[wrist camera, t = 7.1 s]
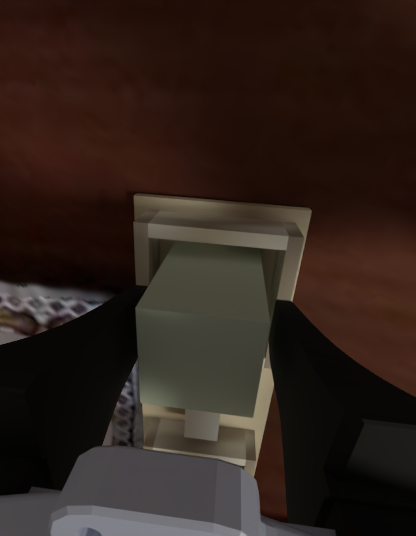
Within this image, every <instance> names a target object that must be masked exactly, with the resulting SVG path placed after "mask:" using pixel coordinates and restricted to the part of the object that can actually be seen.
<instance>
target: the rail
mask: <svg viewBox="0 0 416 536" xmlns="http://www.w3.org/2000/svg"><path fill="white" fill-rule="evenodd" d="M311 213H312V210H311V209H310V208H303V207H292V206H280V205H268V204H257V203H245V202H234V201H222V200H210V199H199V198H187V197H176V196H164V195H152V194H141V193H137V194H135V195H134V216H135V221H134V222H133V227H134V250H135V272H136V285H143V286H149V284H150V283H151V281H152V279H153V278H154V276H155V274H156V273H157V271H158V269H159V268H160V266H161V265H162V263H163V261H164V260H165V258H166V256H167V255H168V253H169V251H170V250H171V248H172V246H173V245H174V243H175V241H186V242H197V243H208V244H218V245H229V246H240V247H251V248H260V253H261V260H262V268H263V275H264V282H265V289H266V297H267V304H268V311H269V318H270V326H269V332H268V337H267V343H266V349H265V354H264V360H263V365H262V371H261V377H260V382H259V388H258V394H257V399H256V405H255V410H254V416H253V418H249V417H241V416H234V415H226V414H219V413H211V412H204V411H196V410H189V409H181V408H174V407H166V406H159V405H151V404H144V403H142V408H143V432H144V445H143V449H149V450H157V451H164V452H172V453H179V454H187V455H194V456H202V457H209V458H217V459H220V460H224V461H227V462H230V463H233V464H237V465H239V466H240V467H241V468H242V469H244V470H245V471H246V472H247V473H248V474H249V475H251V476H252V477H253V478H254V474H255V469H256V465H257V460H258V456H259V451H260V446H261V442H262V437H263V433H264V428H265V424H266V419H267V414H268V410H269V405H270V401H271V396H272V392H273V387H274V381H273V376H272V371H271V365H270V359H269V341H268V338H269V333H270V328H271V323H272V317H273V312H274V307H275V302H276V299H278V300H288V301H292V300H293V296H294V291H295V286H296V282H297V277H298V273H299V268H300V264H301V259H302V254H303V250H304V245H305V241H306V236H307V232H308V227H309V222H310V218H311Z"/></svg>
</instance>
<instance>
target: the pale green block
mask: <svg viewBox="0 0 416 536" xmlns="http://www.w3.org/2000/svg"><path fill="white" fill-rule="evenodd" d="M135 310H136V329H137V349H138V368H139V387H140V403H144V404H151V405H159V406H166V407H174V408H181V409H189V410H196V411H204V412H211V413H219V414H226V415H234V416H241V417H249V418H253V416H254V410H255V405H256V399H257V394H258V388H259V382H260V377H261V371H262V365H263V360H264V354H265V349H266V343H267V337H268V332H269V326H270V318H269V311H268V304H267V297H266V289H265V282H264V275H263V268H262V260H261V253H260V248H251V247H240V246H229V245H218V244H208V243H197V242H186V241H175V243H174V245H173V246H172V248H171V250H170V251H169V253H168V255H167V256H166V258H165V260H164V261H163V263H162V265H161V266H160V268H159V269H158V271H157V273H156V274H155V276H154V278H153V279H152V281H151V283H150V284H149V286H148V288H147V289H146V291H145V293H144V294H143V296H142V298H141V299H140V301H139V303H138V304H137V306H136V308H135Z"/></svg>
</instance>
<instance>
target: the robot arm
mask: <svg viewBox="0 0 416 536" xmlns="http://www.w3.org/2000/svg"><path fill="white" fill-rule="evenodd" d="M147 288H148V286H143V285H133V286H131V287H129V288H128V289H126V290H125V291H123V292H121V293H120V294H118V295H117V296H115V297H113V298H112V299H110V300H109V301H107V302H105V303H104V304H102V305H100V306H98V307H97V308H95V309H93V310H91V311H89V312H88V313H86V314H84V315H82V316H80V317H78V318H76V319H74V320H72V321H69V322H67V323H65V324H63V325H60V326H58V327H55V328H53V329H50V330H47V331H44V332H42V333H39V334H36V335H33V336H30V337H27V338H24V339H20V340H17V341H13V342H10V343H6V344H2V345H0V536H416V397H414V396H412V395H410V394H408V393H407V392H405V391H403V390H401V389H399V388H397V387H395V386H394V385H392V384H390V383H388V382H387V381H385V380H383V379H382V378H380V377H378V376H377V375H375V374H374V373H372V372H371V371H369V370H368V369H366V368H364V367H363V366H362V365H360V364H359V363H357V362H356V361H354V360H353V359H352V358H351V357H349V356H348V355H347V354H345V353H344V352H343V351H341V350H340V349H339V348H338V347H337V346H335V345H334V344H333V343H332V342H331V341H330V340H329V339H328V338H326V337H325V336H324V335H323V334H322V333H321V332H320V331H319V330H318V329H317V328H316V327H315V326H314V325H313V324H312V323H311V322H310V321H309V320H308V319H307V318H306V317H305V315H304V314H303V313H302V312H301V311H300V310H299V309H298V308H297V307H296V306H295V304H294V303H293V302H292V301H288V300H278V299H276V302H275V307H274V312H273V317H272V323H271V328H270V333H269V338H268V341H269V359H270V365H271V371H272V376H273V381H274V386H275V391H276V397H277V402H278V407H279V413H280V420H281V431H282V442H283V455H284V469H285V485H286V502H287V523H283V522H279V521H276V520H273V519H271V518H268V517H265V516H262V515H260V503H259V492H258V487H257V483H256V480H255V479H254V478H253V477H252V476H251V475H249V474H248V473H247V472H246V471H245V470H244V469H242V468H241V467H240V466H239V465H237V464H233V463H230V462H227V461H224V460H220V459H217V458H209V457H202V456H194V455H187V454H179V453H172V452H164V451H157V450H149V449H142V448H134V447H127V446H119V445H112V446H102V444H103V441H104V438H105V435H106V432H107V429H108V426H109V423H110V421H111V418H112V415H113V412H114V409H115V407H116V404H117V401H118V399H119V396H120V394H121V392H122V389H123V387H124V385H125V383H126V381H127V379H128V377H129V375H130V373H131V371H132V369H133V366H134V364H135V362H136V360H137V358H138V349H137V329H136V310H135V308H136V306H137V304H138V303H139V301H140V299H141V298H142V296H143V294H144V293H145V291H146V289H147Z"/></svg>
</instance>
